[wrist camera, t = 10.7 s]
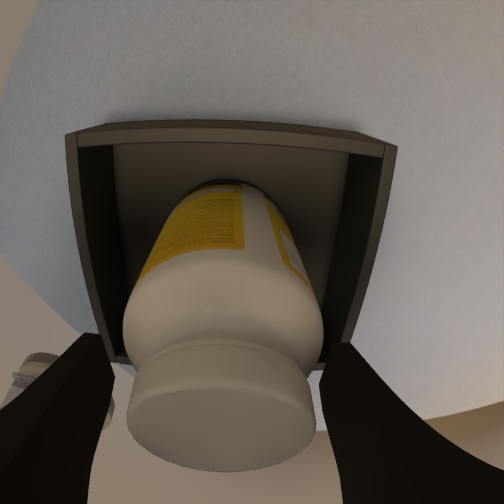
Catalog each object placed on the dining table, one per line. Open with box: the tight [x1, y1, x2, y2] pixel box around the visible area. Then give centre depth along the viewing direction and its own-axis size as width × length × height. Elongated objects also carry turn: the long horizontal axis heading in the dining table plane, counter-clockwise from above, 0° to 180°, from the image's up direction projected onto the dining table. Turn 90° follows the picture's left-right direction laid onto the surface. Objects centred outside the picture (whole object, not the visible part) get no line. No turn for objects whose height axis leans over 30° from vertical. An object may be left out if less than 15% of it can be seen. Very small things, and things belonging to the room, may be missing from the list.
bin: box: [65, 120, 398, 371], centre depth 15 cm, size 13×12×4 cm
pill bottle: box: [123, 181, 323, 472], centre depth 12 cm, size 6×6×12 cm
